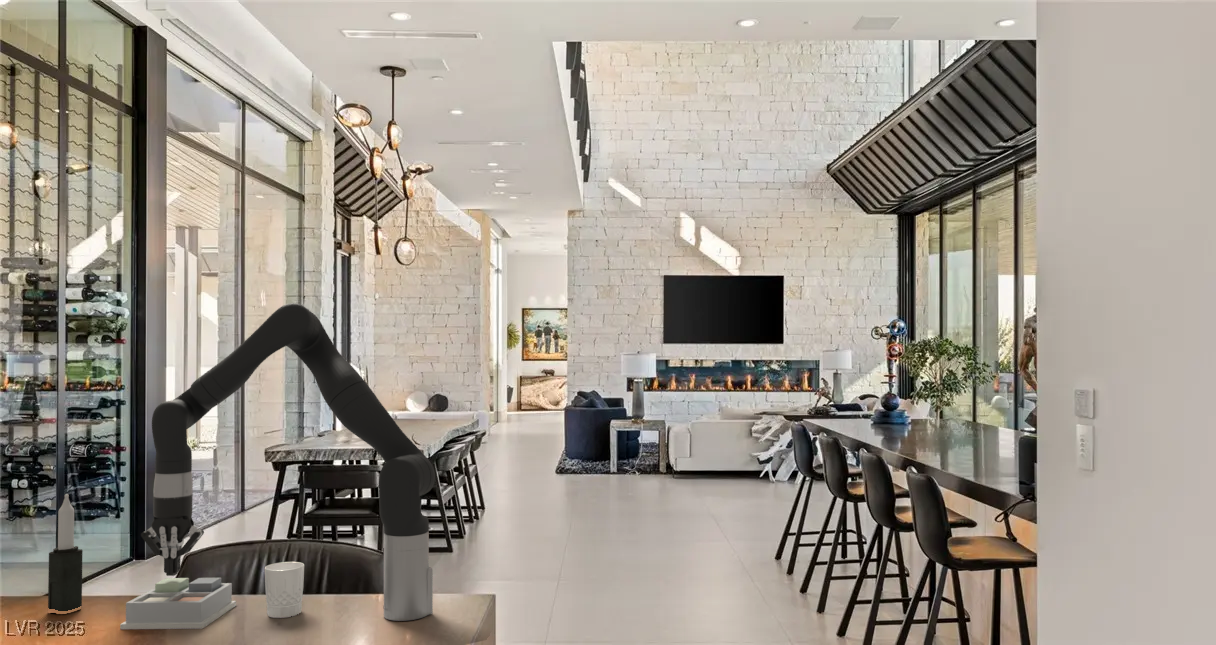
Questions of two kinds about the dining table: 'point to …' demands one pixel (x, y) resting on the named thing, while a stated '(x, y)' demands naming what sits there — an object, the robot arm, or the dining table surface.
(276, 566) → the white cup
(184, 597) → the key terracotta
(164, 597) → the key cream
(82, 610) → the dining table surface
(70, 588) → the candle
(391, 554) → the robot arm
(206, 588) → the key slate
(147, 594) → the keypad
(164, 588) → the key sage
